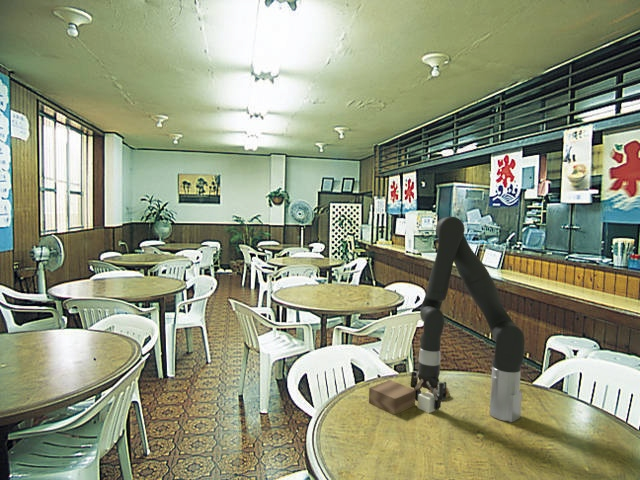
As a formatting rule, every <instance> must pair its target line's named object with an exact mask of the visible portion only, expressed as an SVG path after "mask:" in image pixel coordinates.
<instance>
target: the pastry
mask: <svg viewBox="0 0 640 480" xmlns="http://www.w3.org/2000/svg"><path fill="white" fill-rule="evenodd" d="M438 387H439V385H438ZM434 390H436V389H434ZM428 392H430V393H431V391H430V390H428ZM436 394H437V393H436ZM450 395H451V393H450V390H449V388H448V387H447V386H446V399H448V398H449V397H450ZM437 396H438V395H437Z"/></svg>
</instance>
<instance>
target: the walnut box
mask: <svg viewBox="0 0 640 480" xmlns="http://www.w3.org/2000/svg"><path fill="white" fill-rule="evenodd" d="M368 388H369V390H368V403H369V404H371V405H372V406H375V407H377V408H379V409H380V410H383V411H385V412H388V413H390V414H391V415H397V414H399V413H401V412H404V411H406V410H408V409H410V408H412V407H414V406H416V400H415V396H416V390H414V388H412V387H409V386H406V385H403V384H401V383H398V382H396V381H393V380H391V379H389V380H387V381H383V382H380V383H378V384H376V385H373V386H370V387H368Z"/></svg>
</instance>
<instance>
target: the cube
mask: <svg viewBox="0 0 640 480" xmlns="http://www.w3.org/2000/svg"><path fill="white" fill-rule="evenodd" d="M434 401H435V397H434V395H433V394H432V393H430V392H429V391H424V392H421V394H419V395H418V401H417V409H419V410H421V411H424V412H426V413H427V414H430V413H432V412H435V411H436V410H435V409H434Z"/></svg>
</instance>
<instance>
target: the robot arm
mask: <svg viewBox="0 0 640 480" xmlns="http://www.w3.org/2000/svg"><path fill="white" fill-rule="evenodd" d="M465 231H466V230H465V225H464V223H463V221H462V220H461V219H460V218H458V217H457V216H445V217H442V218H440V219H439V220H438V221H437V223H436V225H435V233H436V236H437V237H438V241H437V243H438V244H437V251H436V255H435V258H434V261H433V262H434V263H433V266H432V269H431V271H430V275H429V279H428V284H427V287H426V294H425V296H424V298H423V300H422V304H421V306H420V311H419V312H420V313H419V315H420V319H421V321H422V322H424V323H423V325H424V326H423V332H422V333H421V334H420V345H419V346H420V347H419V353H418V367H417V369H418V370H414V371H412V372H411V373H410V388H412V389H414V390H416V396H415V402H418V395H419V394H421V393H422V390H421V389H426V390H428V391H429V390H430V391H431V393H432V394H433V395H434V397H435V401H434V409H435V411H437V410H438V411H439V410H440V409H441V406H442V400H446V399H447V398H446V387H447V385H448V384H447V382H446V381H443V382H442V381H440V378H439V377H440V373H441V357H442V356H441V345H442V344H441V343H442V342H441V341H442V340H441V339H442V334H443V330H444V326H445V325H444V324H445V316H444V313H443V311H442V310H441V307H442V305H443V304H442V303H443V301H446V299H447V296H448V291H449V286H450V281H451V276H452V271H453V267H454V265H455V268H456V270H457V272H458V274H459V277H460V279H461V280H462V282H463V285H464V287H465V288H466V290H467V292H468V294H469V296H470V297H471V298H472V300H473V302H474V303H475V304H476V306H477V307H478V308H479V310H480V311H481V312H482V314H483V316H484V318H485V320H486V323H487V324H488V328H489V330H490V332H491V335H492V337H493V339H494V341H495V343H494V344H495V346H494V355H493V358H492V362H491V364H492V365H491V377H490V394H489V395H490V396H489V397H490V398H489V399H490V400H489V414H490V416H492V417H493V418H495V419H497V420H500V421H504V422H509V423H514V422H515V421H518V420H519V419H521V413H522V398H523V397H522V395H523V392H522V391H521V390H520V387H521V372H522V371H521V369H522V365H523V361H524V354H525V344H526V343H525V339H526V338H525V334H524V333H523V330H522V329H521V328H520V327H519V326H518V325H517V324H516V323H515V322H514V320H513V319H512V318H511V317H510V315H509V313H508V312H507V310H506V309H505V308H504V306H503V304H502V301H501V297H500V295H499V291H498V289H497V285H496V284H495V282H494V280H493V278H492V276H491V274H490V273H489V271H488V269H487V268H486V266H485V265H484V263H483V262H482V260H481V259H480V258H479V257H478V256H477V255H476V253H475V252H474V250H473V249H472V248H471V246H470V244H469V242H468V240H467V238H466V236H465ZM418 381H419V382H418ZM438 386H439V387H438ZM434 389H436V390H434ZM436 393H437V394H436ZM437 395H438V396H437Z"/></svg>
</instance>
